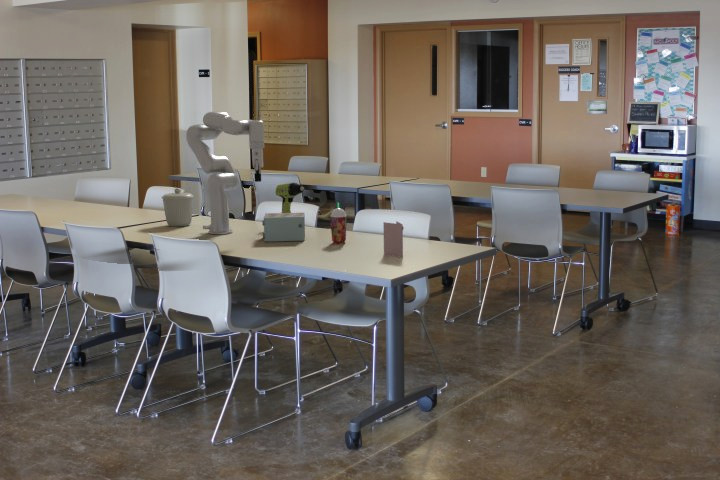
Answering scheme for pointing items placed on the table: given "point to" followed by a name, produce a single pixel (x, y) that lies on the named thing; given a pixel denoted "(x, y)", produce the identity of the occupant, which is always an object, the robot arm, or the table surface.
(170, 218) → the canister
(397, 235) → the greeting card
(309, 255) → the table surface
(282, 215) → the cabinet
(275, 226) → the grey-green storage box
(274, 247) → the table surface
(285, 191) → the cordless drill
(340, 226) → the smoothie
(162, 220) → the table surface
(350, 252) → the table surface
